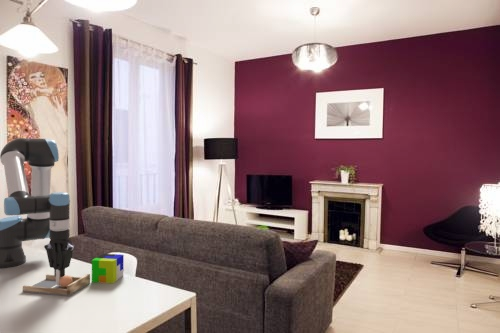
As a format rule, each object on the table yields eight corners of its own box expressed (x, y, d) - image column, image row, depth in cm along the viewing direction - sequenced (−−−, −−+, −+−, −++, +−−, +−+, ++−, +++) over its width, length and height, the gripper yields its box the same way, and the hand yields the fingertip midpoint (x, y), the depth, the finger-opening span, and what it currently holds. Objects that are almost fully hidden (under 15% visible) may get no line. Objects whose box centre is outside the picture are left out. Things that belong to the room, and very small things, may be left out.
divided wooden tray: (47, 278, 159) (47, 270, 158) (89, 282, 156) (89, 274, 155) (22, 290, 145) (22, 281, 145) (69, 294, 142) (69, 286, 142)
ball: (77, 280, 151) (69, 286, 152) (69, 271, 151) (61, 277, 152) (70, 285, 146) (61, 292, 147) (62, 276, 146) (54, 282, 147)
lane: (47, 279, 159) (47, 278, 159) (89, 283, 156) (89, 282, 156) (22, 291, 145) (22, 290, 145) (69, 296, 142) (69, 294, 142)
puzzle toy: (123, 275, 166) (123, 254, 166) (113, 283, 156) (113, 261, 156) (103, 274, 167) (103, 253, 167) (91, 282, 157) (91, 260, 157)
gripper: (39, 230, 146) (39, 285, 147) (67, 232, 144) (67, 288, 145) (51, 226, 154) (51, 279, 155) (79, 228, 152) (79, 281, 153)
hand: (59, 283), depth 150 cm, fingers closed
